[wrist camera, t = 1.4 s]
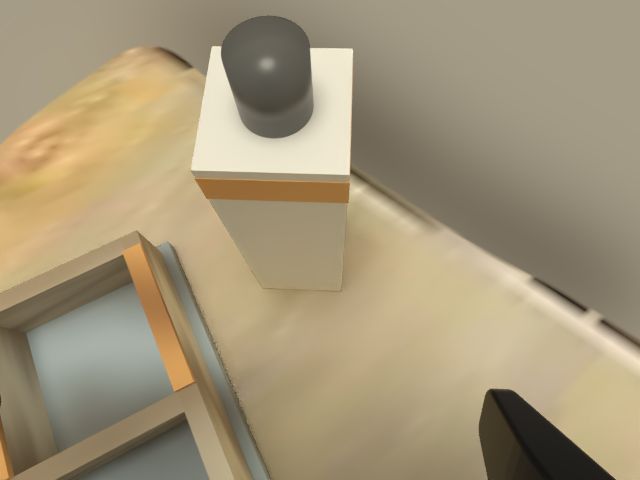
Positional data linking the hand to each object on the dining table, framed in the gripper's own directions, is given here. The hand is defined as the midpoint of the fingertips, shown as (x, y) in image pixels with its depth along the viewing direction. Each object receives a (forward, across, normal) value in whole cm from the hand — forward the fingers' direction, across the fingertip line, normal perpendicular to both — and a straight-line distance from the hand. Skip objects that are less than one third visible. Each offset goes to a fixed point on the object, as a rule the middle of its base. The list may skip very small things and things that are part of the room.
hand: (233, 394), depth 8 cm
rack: (+8, +7, +11) cm, 15 cm away
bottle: (+15, 0, +4) cm, 15 cm away
